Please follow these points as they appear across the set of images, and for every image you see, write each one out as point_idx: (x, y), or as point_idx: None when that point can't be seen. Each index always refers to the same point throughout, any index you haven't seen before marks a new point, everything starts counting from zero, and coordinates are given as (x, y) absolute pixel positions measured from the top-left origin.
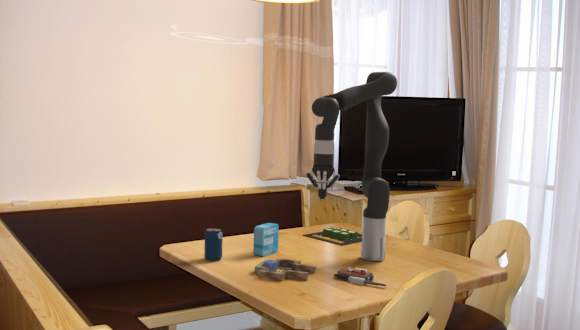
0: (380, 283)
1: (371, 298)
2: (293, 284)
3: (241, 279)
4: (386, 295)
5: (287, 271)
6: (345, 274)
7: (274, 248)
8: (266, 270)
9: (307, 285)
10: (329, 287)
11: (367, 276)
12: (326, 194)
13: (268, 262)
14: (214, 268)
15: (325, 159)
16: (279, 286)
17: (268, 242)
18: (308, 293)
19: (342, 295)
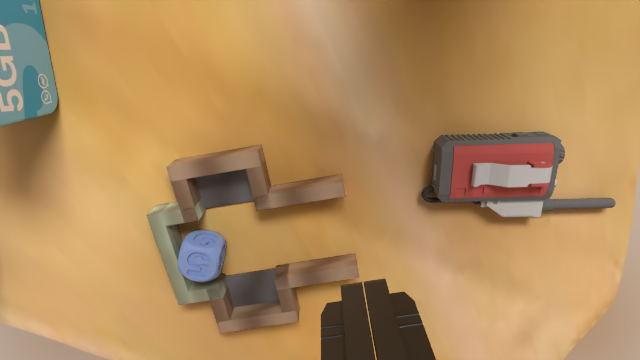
0: (598, 206)
1: (579, 301)
2: None
3: (196, 350)
4: (617, 258)
5: (291, 286)
6: (469, 201)
7: (27, 10)
8: (226, 302)
9: None
10: (443, 282)
11: (552, 190)
12: (419, 321)
13: (203, 281)
14: (57, 313)
15: None
16: (317, 345)
17: (9, 69)
18: None
19: (499, 320)
